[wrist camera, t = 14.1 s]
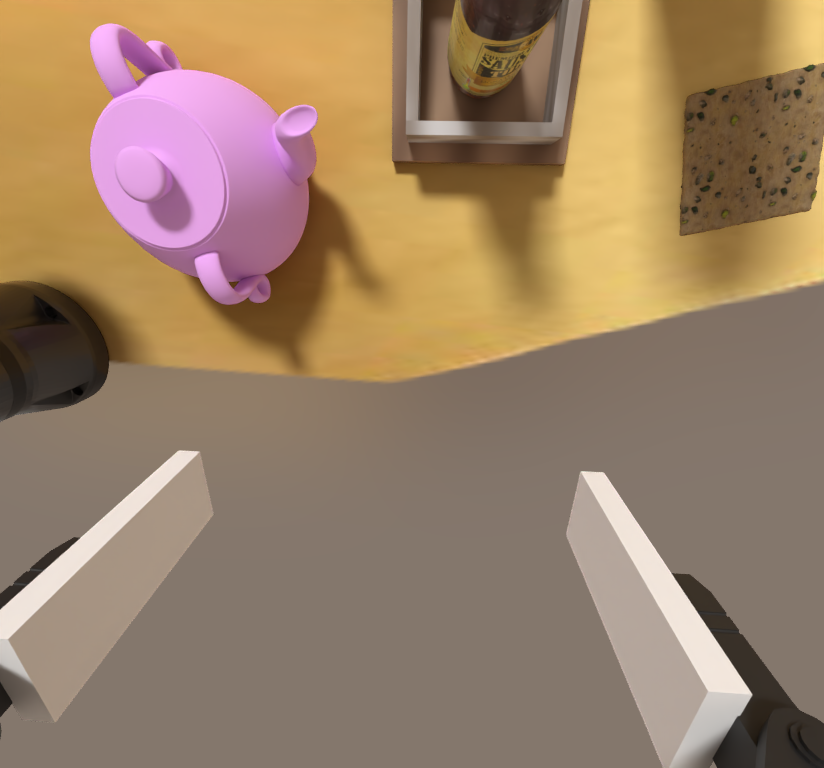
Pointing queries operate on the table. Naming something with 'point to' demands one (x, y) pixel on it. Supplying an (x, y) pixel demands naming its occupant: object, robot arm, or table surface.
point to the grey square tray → (483, 117)
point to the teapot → (199, 167)
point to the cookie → (752, 150)
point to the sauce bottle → (494, 41)
